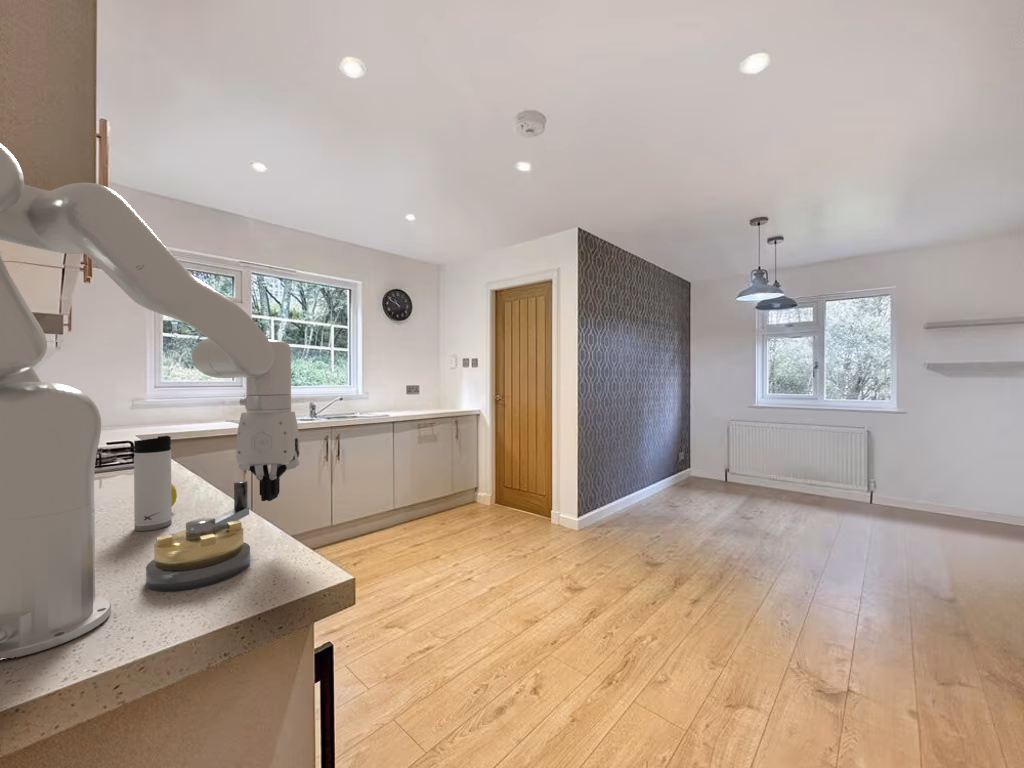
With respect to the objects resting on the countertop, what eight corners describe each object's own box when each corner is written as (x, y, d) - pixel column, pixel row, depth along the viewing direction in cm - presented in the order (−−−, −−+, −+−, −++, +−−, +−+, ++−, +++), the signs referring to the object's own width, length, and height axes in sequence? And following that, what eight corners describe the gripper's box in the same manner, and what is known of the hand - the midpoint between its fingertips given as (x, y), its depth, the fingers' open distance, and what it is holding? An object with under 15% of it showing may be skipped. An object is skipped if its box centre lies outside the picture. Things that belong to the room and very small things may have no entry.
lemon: (182, 510, 106) (182, 478, 106) (161, 517, 100) (161, 483, 100) (163, 509, 107) (163, 477, 107) (141, 516, 101) (140, 482, 101)
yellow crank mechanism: (213, 569, 66) (213, 508, 65) (133, 570, 65) (133, 508, 65) (275, 529, 84) (275, 480, 84) (213, 529, 83) (212, 481, 83)
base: (215, 590, 65) (215, 574, 65) (121, 592, 64) (121, 575, 64) (266, 553, 79) (266, 540, 79) (189, 554, 78) (189, 541, 78)
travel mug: (151, 532, 90) (150, 438, 90) (126, 530, 91) (125, 437, 91) (180, 523, 96) (179, 434, 96) (156, 521, 97) (155, 433, 97)
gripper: (216, 405, 78) (217, 505, 78) (301, 405, 79) (301, 503, 79) (239, 403, 86) (240, 495, 86) (316, 403, 87) (316, 493, 87)
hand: (269, 498), depth 82 cm, fingers closed
